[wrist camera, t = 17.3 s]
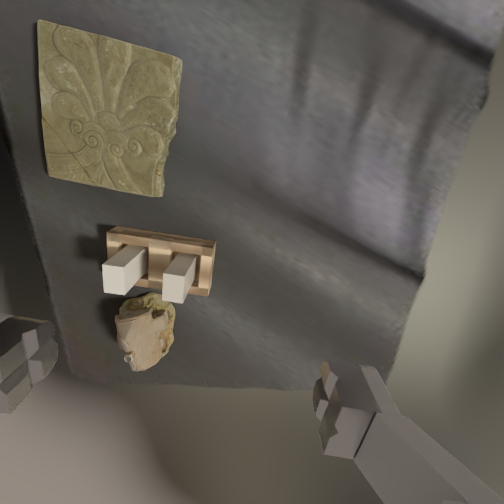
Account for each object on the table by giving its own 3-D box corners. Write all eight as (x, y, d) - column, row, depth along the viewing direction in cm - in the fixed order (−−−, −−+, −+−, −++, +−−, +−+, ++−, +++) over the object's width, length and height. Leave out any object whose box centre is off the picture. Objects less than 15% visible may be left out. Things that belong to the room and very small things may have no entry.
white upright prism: (179, 251, 45) (163, 273, 37) (197, 253, 45) (184, 276, 38) (178, 274, 47) (162, 300, 39) (195, 277, 47) (182, 303, 39)
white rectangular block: (129, 243, 45) (102, 264, 37) (147, 246, 45) (123, 267, 37) (130, 267, 47) (104, 292, 39) (147, 270, 47) (124, 295, 39)
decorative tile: (57, 175, 43) (40, 177, 40) (50, 24, 36) (29, 12, 33) (172, 201, 44) (165, 205, 41) (188, 60, 37) (181, 51, 34)
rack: (117, 225, 46) (106, 231, 42) (216, 241, 46) (212, 248, 43) (118, 272, 49) (108, 281, 46) (210, 286, 49) (207, 296, 46)
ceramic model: (113, 294, 51) (80, 327, 41) (171, 289, 50) (151, 322, 41) (132, 352, 56) (107, 393, 47) (185, 349, 55) (170, 390, 46)
